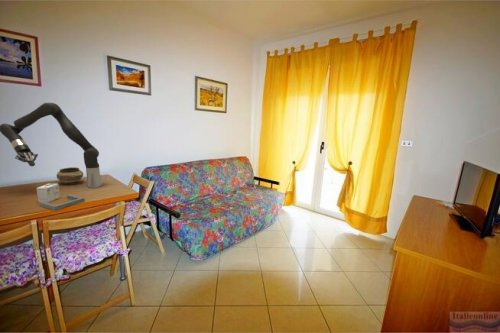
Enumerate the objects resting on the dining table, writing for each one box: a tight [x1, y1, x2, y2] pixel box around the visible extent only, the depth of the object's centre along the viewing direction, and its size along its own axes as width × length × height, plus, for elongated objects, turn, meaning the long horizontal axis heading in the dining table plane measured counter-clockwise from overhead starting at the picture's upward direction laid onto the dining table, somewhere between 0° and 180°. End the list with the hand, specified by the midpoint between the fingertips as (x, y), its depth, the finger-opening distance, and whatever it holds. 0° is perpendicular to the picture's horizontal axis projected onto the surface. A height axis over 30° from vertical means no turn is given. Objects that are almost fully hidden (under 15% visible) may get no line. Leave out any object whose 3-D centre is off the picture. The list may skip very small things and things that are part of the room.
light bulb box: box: [36, 183, 61, 203], centre depth 152 cm, size 11×7×11 cm, turn 5°
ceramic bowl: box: [56, 166, 84, 185], centre depth 189 cm, size 24×18×15 cm
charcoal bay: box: [38, 194, 86, 211], centre depth 148 cm, size 18×16×2 cm
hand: (33, 165), depth 156 cm, fingers closed
